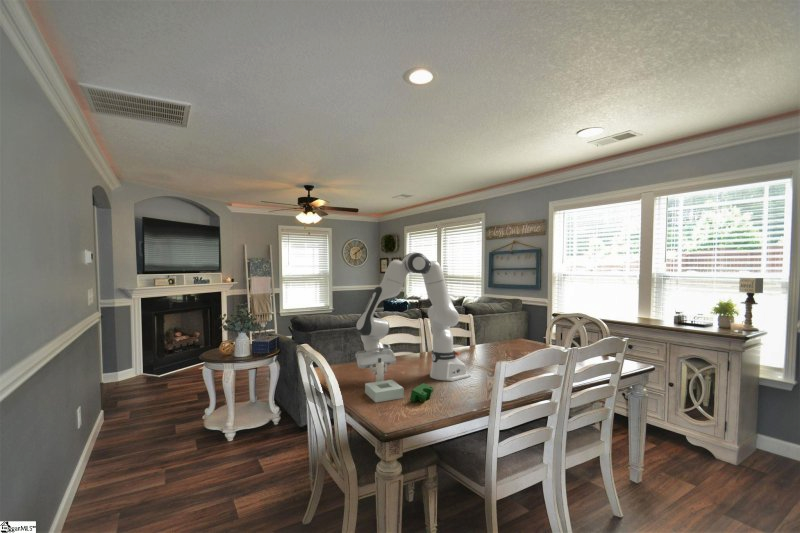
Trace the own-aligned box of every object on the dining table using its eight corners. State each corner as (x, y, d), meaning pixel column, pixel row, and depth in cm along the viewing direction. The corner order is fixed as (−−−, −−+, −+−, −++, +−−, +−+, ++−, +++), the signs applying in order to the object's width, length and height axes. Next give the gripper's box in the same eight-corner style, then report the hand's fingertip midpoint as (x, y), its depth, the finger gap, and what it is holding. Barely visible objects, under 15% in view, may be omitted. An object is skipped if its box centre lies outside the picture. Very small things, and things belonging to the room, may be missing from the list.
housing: (391, 388, 187) (391, 379, 187) (403, 397, 175) (403, 388, 175) (365, 392, 181) (365, 383, 181) (375, 402, 169) (375, 392, 169)
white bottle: (382, 384, 194) (381, 357, 194) (385, 386, 190) (384, 358, 190) (374, 385, 192) (374, 357, 192) (377, 387, 188) (377, 359, 188)
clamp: (421, 412, 169) (421, 397, 164) (410, 406, 172) (410, 392, 167) (434, 395, 177) (435, 380, 173) (423, 390, 180) (423, 375, 176)
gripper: (355, 348, 193) (362, 372, 184) (392, 344, 201) (400, 367, 193) (353, 355, 197) (359, 379, 188) (389, 351, 205) (396, 374, 197)
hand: (380, 373), depth 190 cm, fingers closed on white bottle, 4 cm apart
